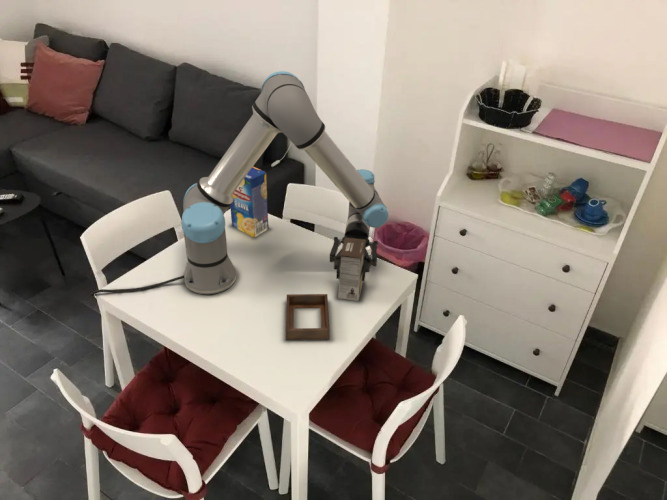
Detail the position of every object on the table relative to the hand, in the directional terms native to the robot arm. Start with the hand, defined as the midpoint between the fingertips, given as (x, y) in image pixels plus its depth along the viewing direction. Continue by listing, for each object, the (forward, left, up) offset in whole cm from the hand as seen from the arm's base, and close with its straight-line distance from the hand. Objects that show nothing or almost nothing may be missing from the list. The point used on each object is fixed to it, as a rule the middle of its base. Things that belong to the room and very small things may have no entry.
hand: (350, 276), depth 152 cm
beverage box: (-31, +39, -9) cm, 51 cm away
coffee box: (+1, +5, -9) cm, 11 cm away
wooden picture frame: (-12, -8, -9) cm, 17 cm away
